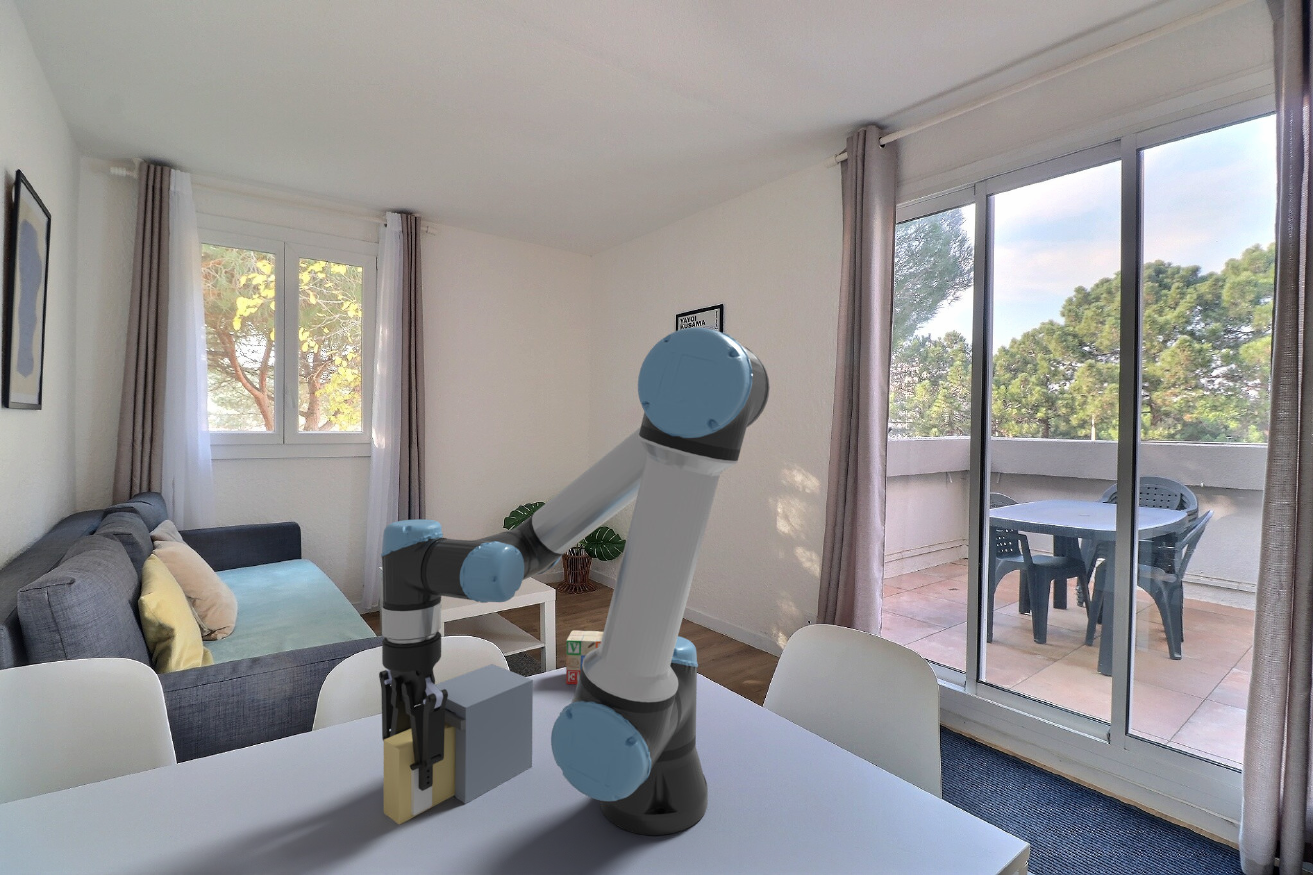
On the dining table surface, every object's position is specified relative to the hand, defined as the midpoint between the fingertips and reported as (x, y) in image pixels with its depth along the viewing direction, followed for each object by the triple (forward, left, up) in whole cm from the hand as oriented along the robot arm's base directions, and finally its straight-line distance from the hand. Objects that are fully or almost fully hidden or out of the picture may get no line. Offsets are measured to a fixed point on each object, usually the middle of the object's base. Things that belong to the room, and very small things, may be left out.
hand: (412, 802), depth 84 cm
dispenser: (0, -11, -1) cm, 11 cm away
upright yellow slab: (0, -4, -1) cm, 4 cm away
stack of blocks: (+6, -50, -1) cm, 50 cm away
